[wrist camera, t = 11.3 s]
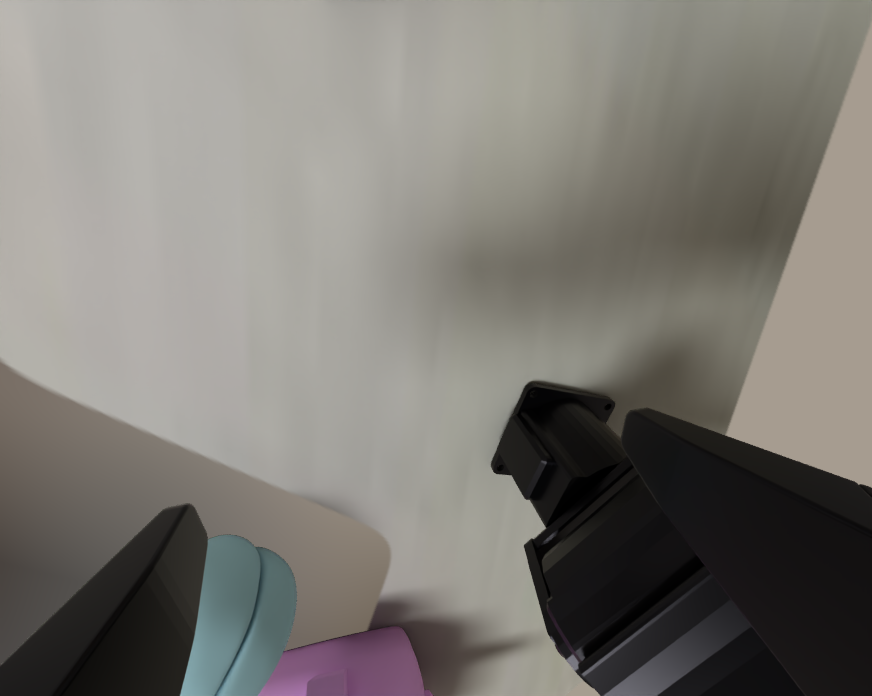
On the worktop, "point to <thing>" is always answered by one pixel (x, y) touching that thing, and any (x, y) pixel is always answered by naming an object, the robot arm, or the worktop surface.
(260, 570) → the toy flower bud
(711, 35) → the worktop surface
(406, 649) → the teakettle
